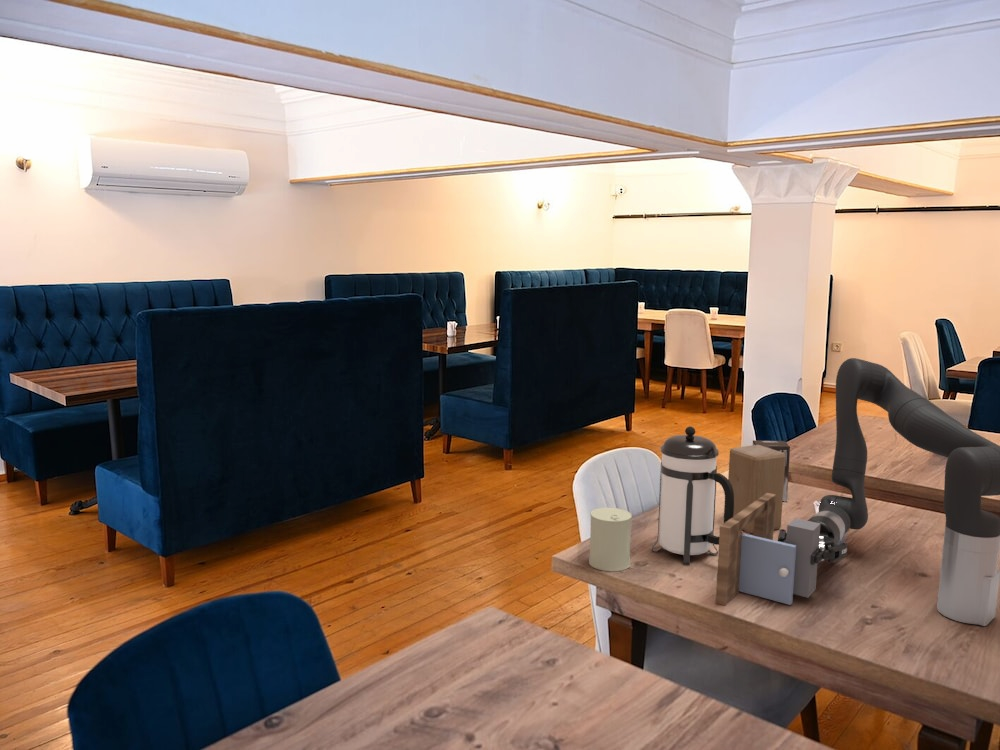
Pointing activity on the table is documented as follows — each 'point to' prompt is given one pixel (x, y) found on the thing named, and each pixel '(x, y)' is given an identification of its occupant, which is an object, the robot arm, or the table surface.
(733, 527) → the door frame
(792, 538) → the grey rectangular block
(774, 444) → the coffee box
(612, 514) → the can
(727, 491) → the coffee press
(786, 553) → the door
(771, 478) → the wooden block
